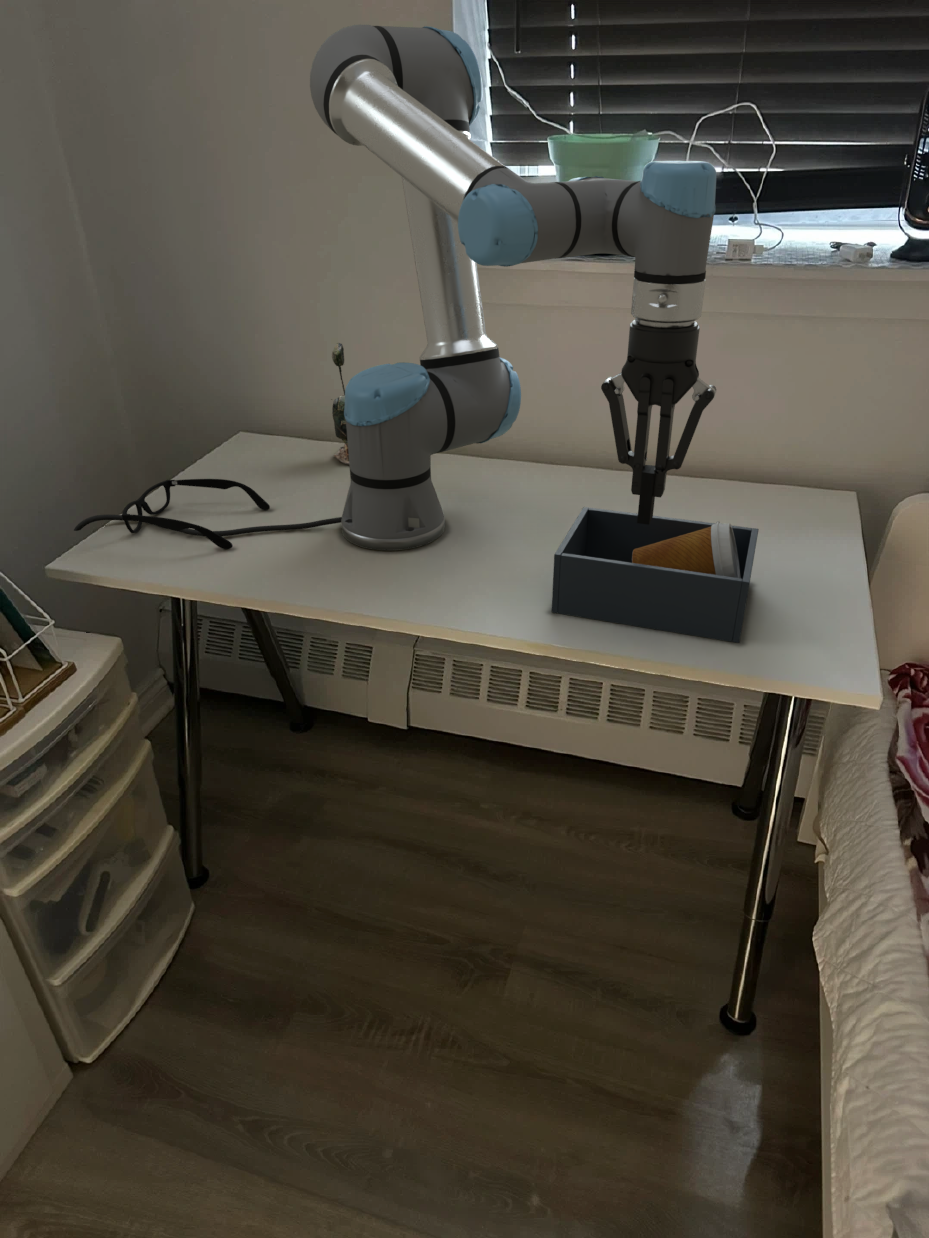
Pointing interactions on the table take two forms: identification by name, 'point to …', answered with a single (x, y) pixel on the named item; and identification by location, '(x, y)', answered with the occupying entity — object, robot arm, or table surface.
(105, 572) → the table surface
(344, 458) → the plant with pod
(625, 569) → the bin
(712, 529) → the disposable coffee cup
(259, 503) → the glasses
